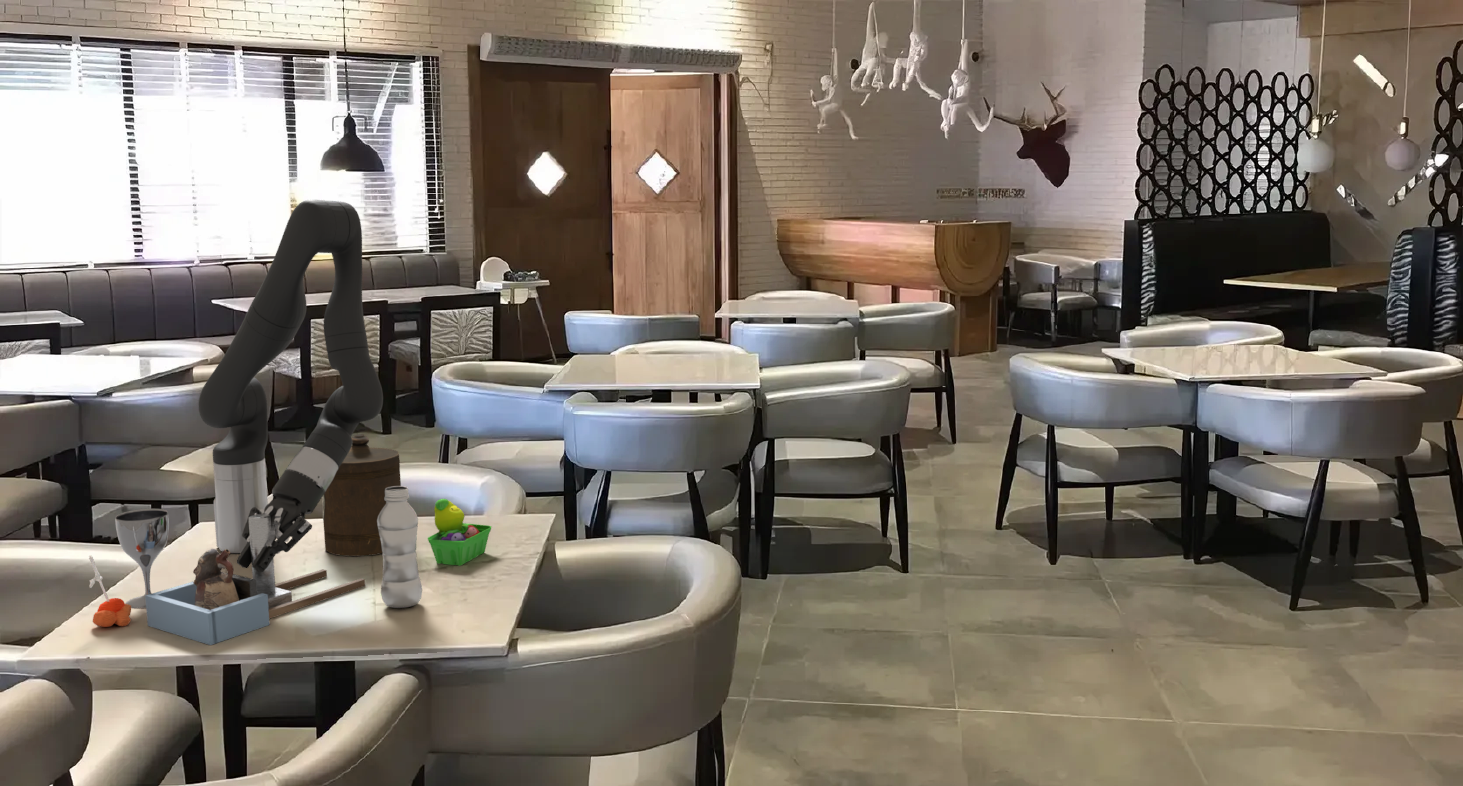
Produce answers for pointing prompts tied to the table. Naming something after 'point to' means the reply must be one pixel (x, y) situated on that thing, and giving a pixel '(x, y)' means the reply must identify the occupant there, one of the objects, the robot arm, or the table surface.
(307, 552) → the table surface
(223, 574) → the figurine
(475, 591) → the table surface
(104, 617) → the orange lumpy food
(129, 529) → the wine glass
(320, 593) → the lane rails
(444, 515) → the fruit basket
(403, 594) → the plastic bottle
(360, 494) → the wooden container
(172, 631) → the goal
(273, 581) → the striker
